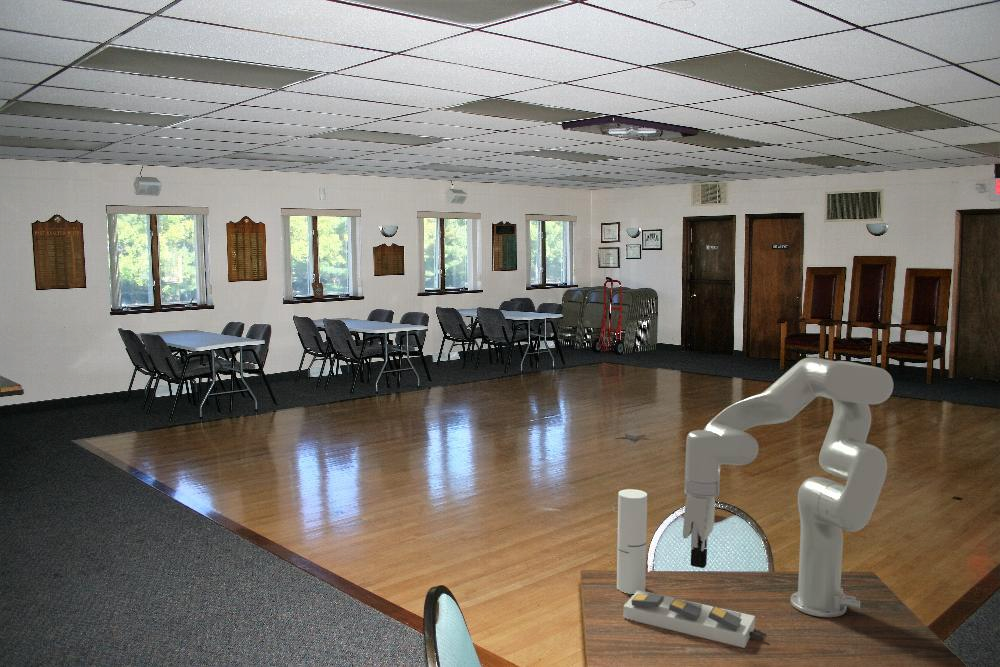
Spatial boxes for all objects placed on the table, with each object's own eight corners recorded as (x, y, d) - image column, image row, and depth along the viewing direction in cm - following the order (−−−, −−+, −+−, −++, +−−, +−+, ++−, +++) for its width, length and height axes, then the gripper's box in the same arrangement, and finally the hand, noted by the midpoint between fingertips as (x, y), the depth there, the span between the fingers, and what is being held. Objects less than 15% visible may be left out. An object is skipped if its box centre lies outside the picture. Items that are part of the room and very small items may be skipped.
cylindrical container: (644, 595, 200) (646, 499, 197) (615, 593, 202) (617, 497, 199) (645, 583, 207) (647, 490, 204) (617, 581, 209) (619, 488, 206)
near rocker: (740, 623, 180) (741, 618, 179) (735, 631, 176) (737, 626, 176) (712, 609, 182) (714, 605, 182) (708, 617, 179) (709, 612, 179)
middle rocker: (700, 613, 184) (701, 608, 184) (695, 620, 180) (697, 615, 180) (674, 602, 187) (675, 597, 187) (668, 609, 183) (669, 604, 183)
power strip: (768, 631, 182) (768, 618, 182) (758, 651, 174) (759, 637, 173) (637, 601, 197) (638, 588, 197) (623, 618, 189) (623, 605, 188)
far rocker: (663, 600, 188) (662, 594, 188) (658, 607, 185) (657, 601, 185) (637, 598, 191) (637, 593, 191) (632, 605, 188) (631, 600, 188)
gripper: (693, 475, 187) (690, 551, 189) (676, 493, 173) (672, 574, 176) (726, 480, 183) (722, 557, 185) (710, 498, 170) (707, 581, 172)
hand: (698, 565), depth 180 cm, fingers closed
